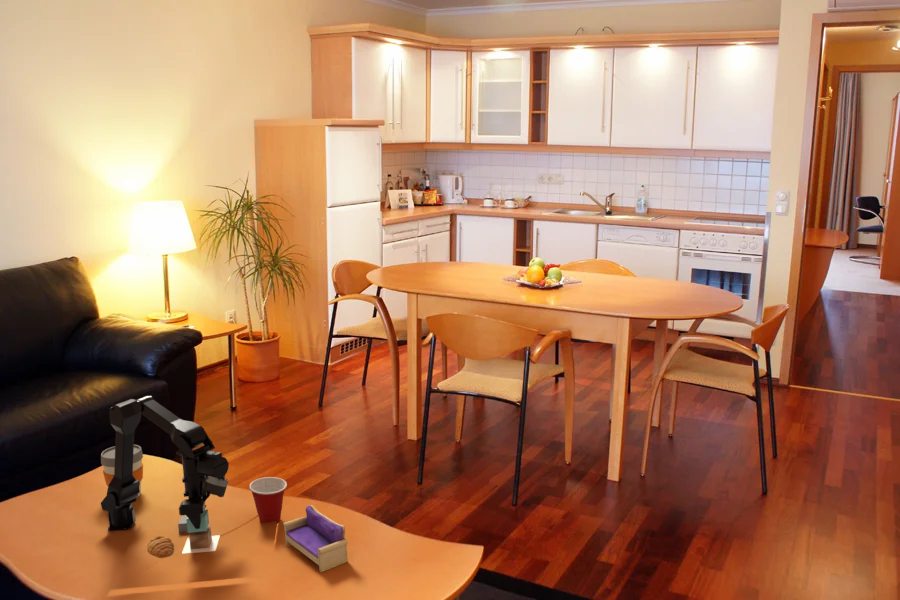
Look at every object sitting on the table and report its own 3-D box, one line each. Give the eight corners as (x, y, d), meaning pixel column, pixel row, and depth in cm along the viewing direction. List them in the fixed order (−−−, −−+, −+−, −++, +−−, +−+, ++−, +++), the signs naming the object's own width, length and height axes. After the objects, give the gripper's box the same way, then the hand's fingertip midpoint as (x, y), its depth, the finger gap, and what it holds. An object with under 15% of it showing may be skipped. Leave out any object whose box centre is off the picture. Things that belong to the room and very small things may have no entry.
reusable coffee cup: (111, 488, 274) (106, 445, 271) (151, 485, 275) (146, 442, 272) (100, 505, 261) (94, 460, 258) (141, 502, 263) (136, 457, 260)
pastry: (180, 557, 228) (178, 544, 227) (155, 565, 224) (153, 552, 223) (169, 544, 235) (167, 531, 235) (145, 552, 231) (143, 539, 231)
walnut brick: (190, 549, 229) (189, 536, 228) (193, 540, 234) (192, 527, 233) (209, 547, 230) (207, 534, 229) (211, 539, 234) (210, 526, 234)
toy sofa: (283, 545, 233) (281, 511, 231) (311, 535, 238) (308, 501, 236) (321, 574, 217) (318, 538, 215) (349, 563, 222) (347, 527, 220)
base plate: (182, 557, 227) (181, 553, 227) (187, 541, 236) (187, 538, 236) (215, 554, 228) (215, 550, 228) (220, 539, 237) (220, 535, 237)
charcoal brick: (179, 536, 239) (178, 523, 239) (183, 528, 244) (181, 516, 243) (197, 535, 240) (195, 522, 239) (200, 527, 245) (199, 514, 244)
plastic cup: (277, 532, 240) (274, 493, 238) (245, 527, 244) (241, 488, 241) (296, 515, 250) (293, 478, 248) (265, 511, 254) (262, 474, 251)
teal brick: (187, 532, 228) (186, 519, 227) (190, 524, 233) (189, 511, 232) (206, 531, 229) (205, 517, 228) (209, 522, 233) (207, 509, 233)
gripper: (219, 483, 219) (224, 537, 222) (228, 456, 237) (233, 507, 241) (176, 486, 218) (181, 541, 221) (188, 459, 236) (193, 510, 239)
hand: (199, 524), depth 231 cm, fingers closed on teal brick, 5 cm apart
